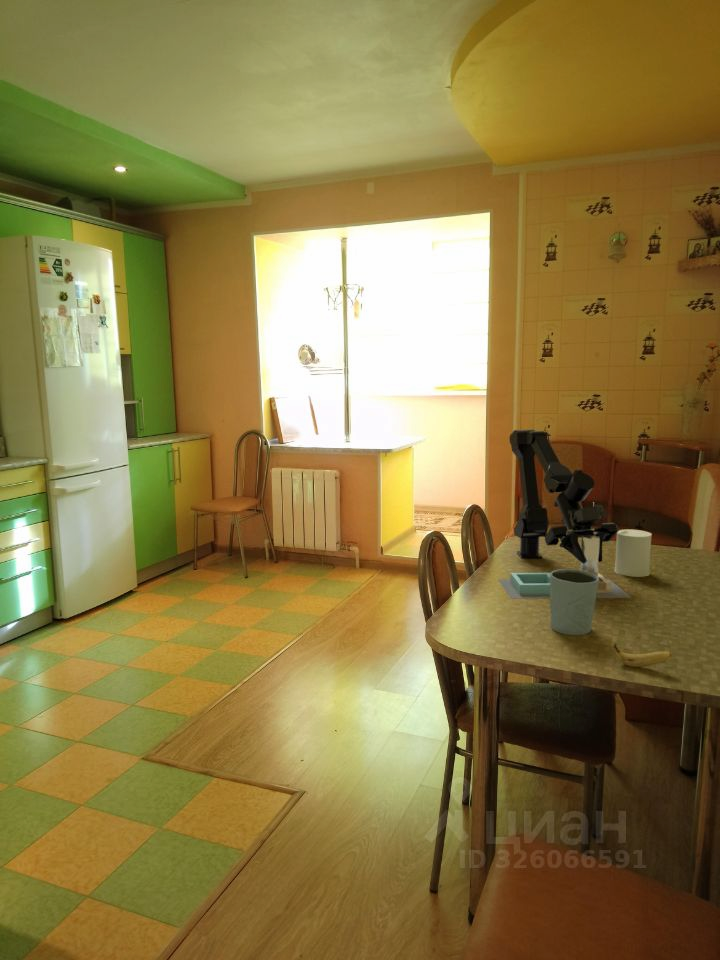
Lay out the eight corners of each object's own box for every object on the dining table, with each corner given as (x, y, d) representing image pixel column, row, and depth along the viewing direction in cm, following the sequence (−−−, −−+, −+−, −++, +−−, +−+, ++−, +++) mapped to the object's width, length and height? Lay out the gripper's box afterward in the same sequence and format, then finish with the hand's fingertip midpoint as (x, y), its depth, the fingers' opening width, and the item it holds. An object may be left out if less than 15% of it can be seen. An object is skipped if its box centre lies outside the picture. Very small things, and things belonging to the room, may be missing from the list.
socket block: (567, 582, 177) (567, 573, 176) (598, 582, 177) (599, 573, 176) (577, 592, 168) (578, 583, 168) (610, 592, 168) (611, 583, 168)
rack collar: (510, 582, 178) (510, 573, 177) (549, 581, 178) (549, 572, 177) (519, 594, 167) (520, 585, 167) (560, 594, 167) (561, 584, 167)
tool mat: (497, 580, 180) (497, 579, 180) (607, 579, 180) (607, 578, 180) (511, 599, 164) (511, 598, 164) (631, 598, 165) (631, 597, 164)
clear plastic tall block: (577, 583, 175) (579, 535, 173) (593, 583, 175) (596, 535, 173) (582, 588, 170) (585, 539, 168) (599, 588, 170) (602, 539, 168)
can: (610, 567, 191) (612, 527, 189) (643, 568, 190) (645, 527, 189) (619, 577, 182) (621, 534, 180) (654, 578, 181) (657, 535, 180)
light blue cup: (545, 618, 152) (547, 567, 150) (592, 621, 150) (594, 569, 148) (550, 635, 142) (552, 581, 140) (600, 638, 140) (602, 583, 138)
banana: (670, 670, 124) (671, 650, 124) (669, 675, 122) (671, 654, 122) (613, 660, 129) (614, 640, 128) (612, 665, 127) (613, 645, 126)
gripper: (551, 496, 171) (572, 548, 162) (616, 492, 175) (639, 543, 166) (536, 519, 180) (554, 570, 171) (598, 516, 183) (619, 565, 175)
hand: (592, 562), depth 170 cm, fingers closed on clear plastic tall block, 4 cm apart
